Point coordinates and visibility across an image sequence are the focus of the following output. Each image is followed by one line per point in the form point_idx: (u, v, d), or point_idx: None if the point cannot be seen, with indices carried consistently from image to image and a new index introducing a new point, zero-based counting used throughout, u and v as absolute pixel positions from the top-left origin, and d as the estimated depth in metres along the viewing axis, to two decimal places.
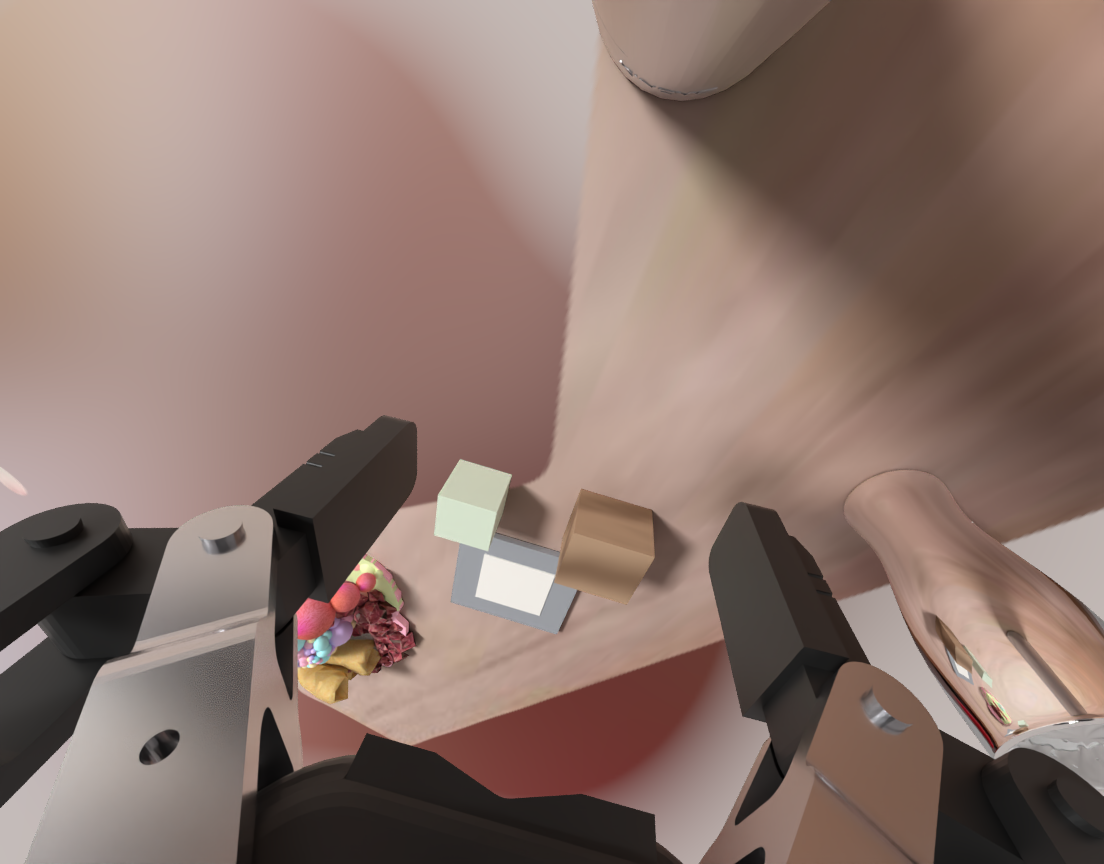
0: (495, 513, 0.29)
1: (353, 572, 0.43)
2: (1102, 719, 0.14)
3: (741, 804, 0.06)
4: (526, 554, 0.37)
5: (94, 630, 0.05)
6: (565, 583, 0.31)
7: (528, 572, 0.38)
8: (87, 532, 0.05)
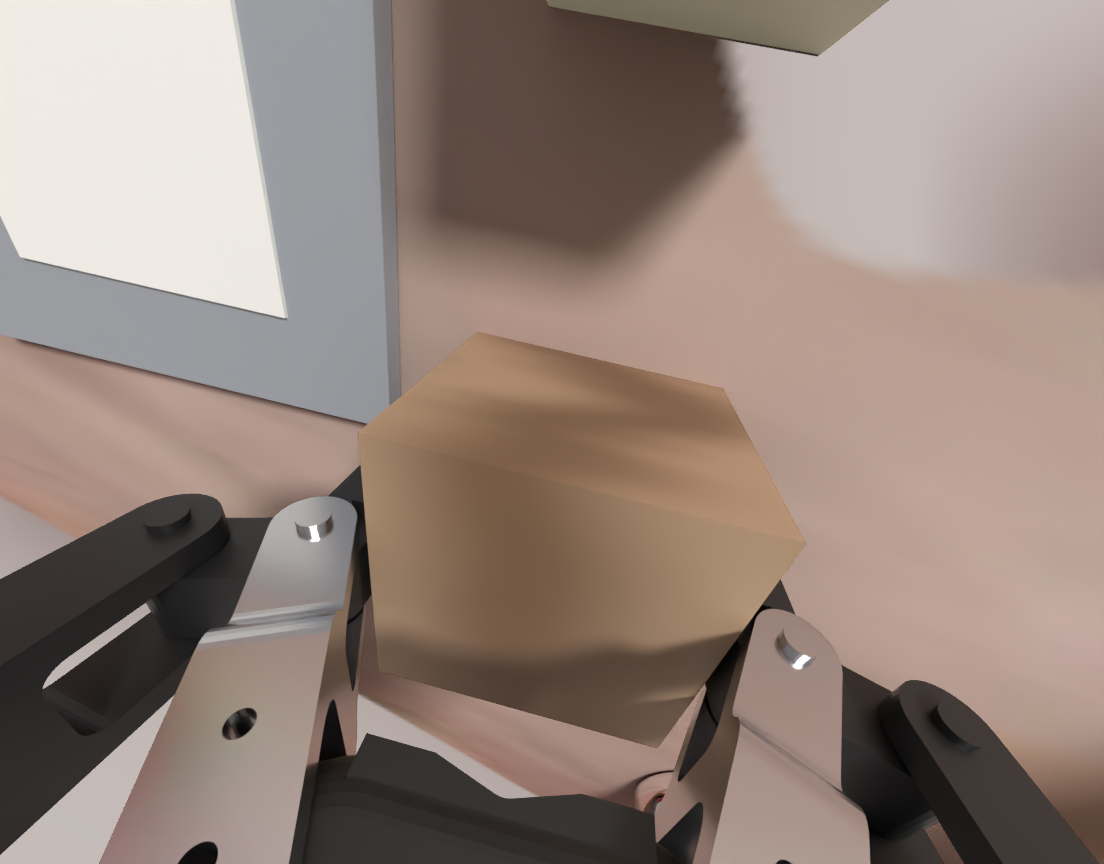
0: None
1: None
2: None
3: (683, 759, 0.06)
4: (336, 175, 0.08)
5: (187, 614, 0.06)
6: (385, 488, 0.06)
7: (230, 191, 0.08)
8: (195, 520, 0.06)
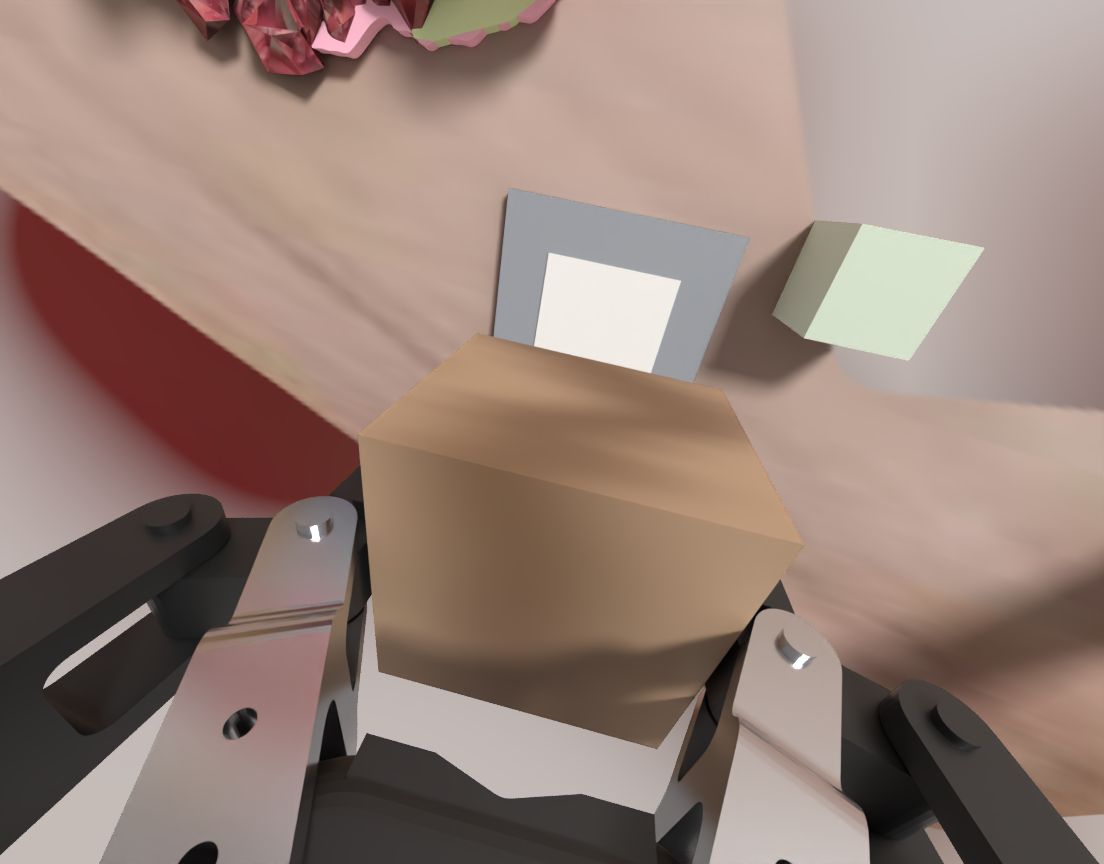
0: (906, 358, 0.17)
1: None
2: None
3: (682, 759, 0.06)
4: (685, 357, 0.22)
5: (187, 614, 0.06)
6: (386, 489, 0.06)
7: (641, 359, 0.23)
8: (195, 520, 0.06)
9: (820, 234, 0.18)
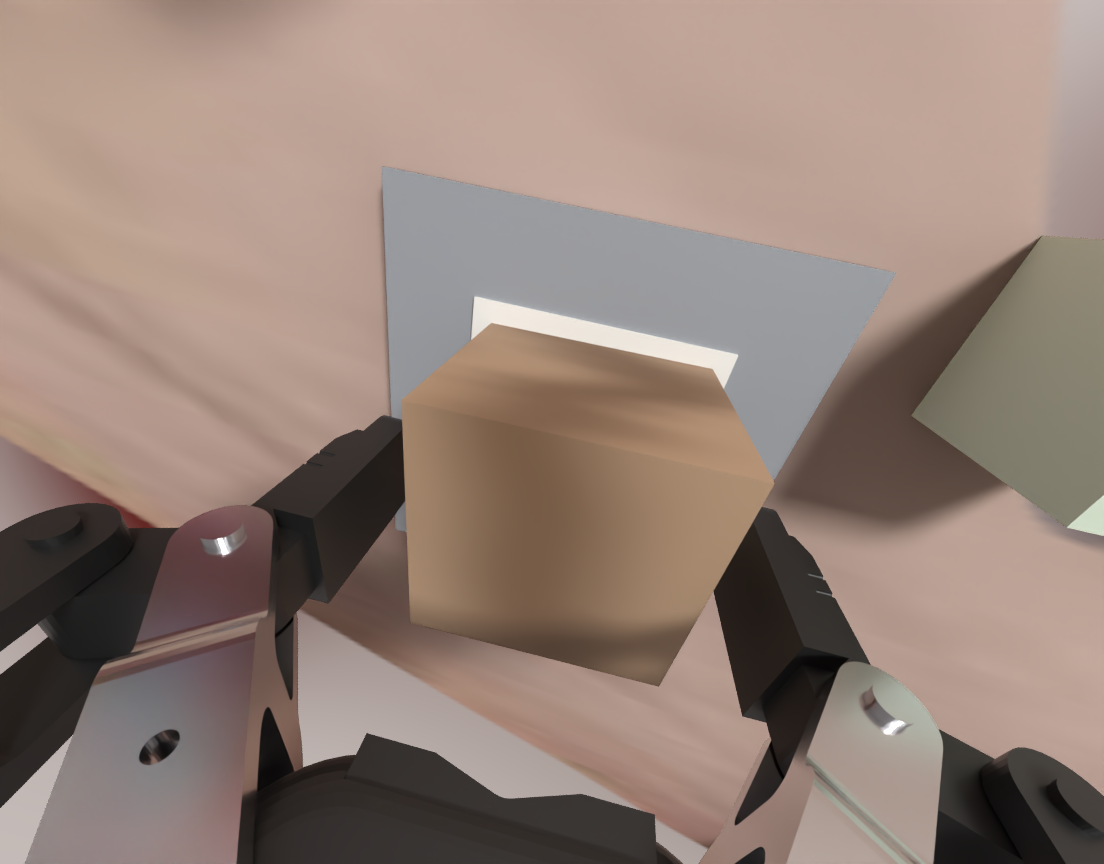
0: None
1: None
2: None
3: (741, 804, 0.06)
4: None
5: (94, 630, 0.05)
6: (423, 448, 0.07)
7: None
8: (87, 532, 0.05)
9: (1080, 269, 0.08)
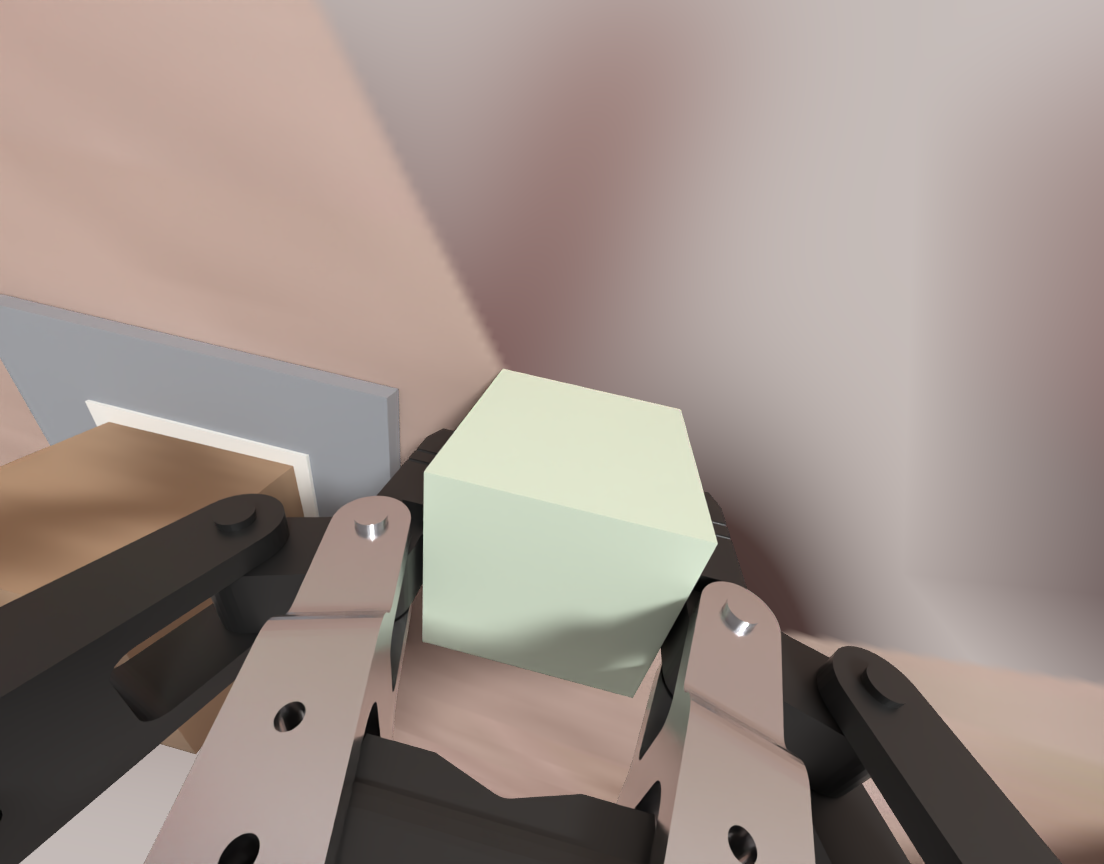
0: (626, 693, 0.08)
1: None
2: None
3: (643, 737, 0.06)
4: None
5: (244, 612, 0.06)
6: None
7: None
8: (260, 519, 0.06)
9: None
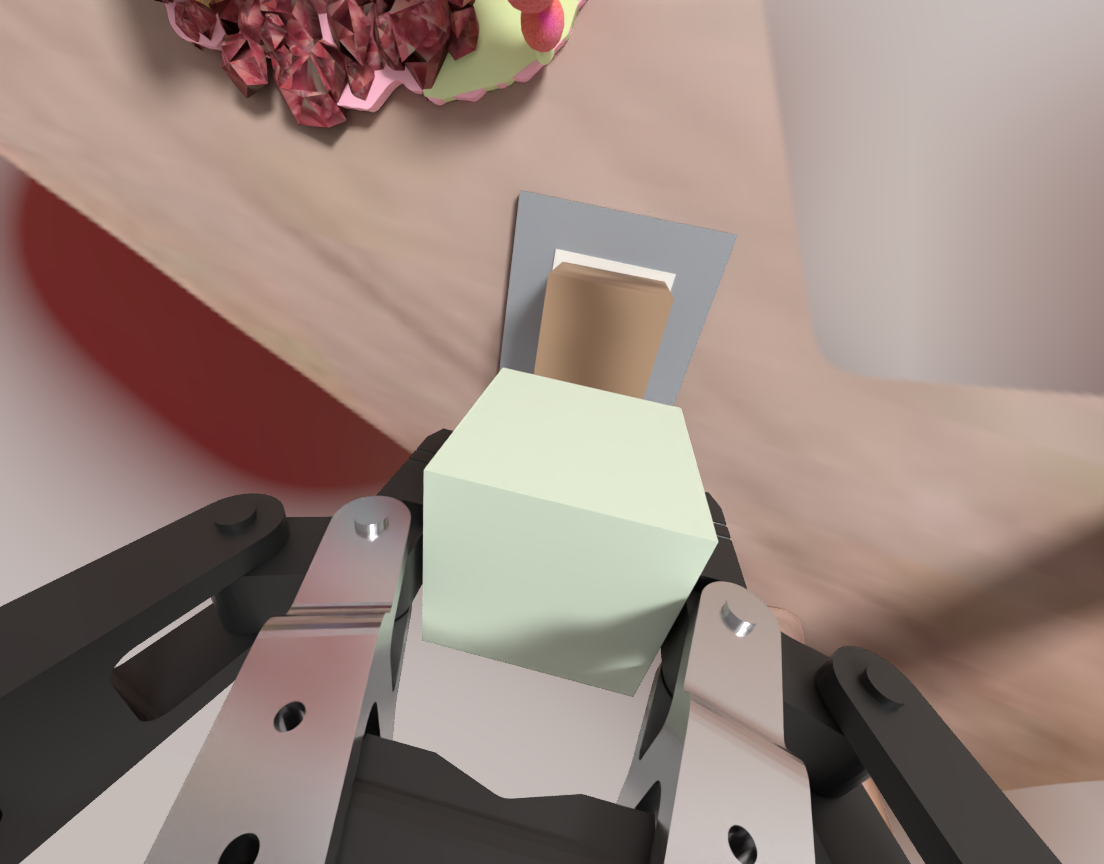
0: (626, 692, 0.08)
1: None
2: None
3: (642, 737, 0.06)
4: (680, 344, 0.24)
5: (244, 612, 0.06)
6: (553, 293, 0.19)
7: None
8: (260, 519, 0.06)
9: None
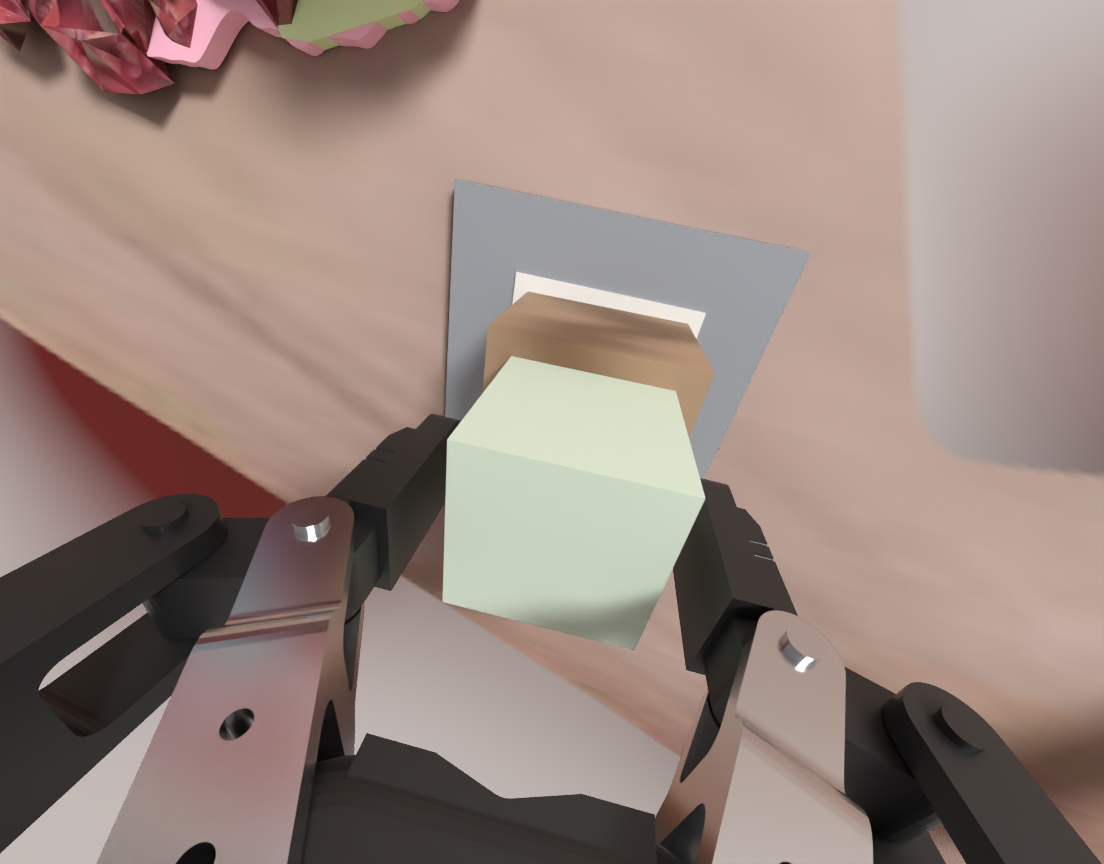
0: (628, 646, 0.09)
1: None
2: None
3: (685, 760, 0.06)
4: (708, 414, 0.16)
5: (183, 615, 0.06)
6: (498, 359, 0.11)
7: None
8: (191, 520, 0.06)
9: None
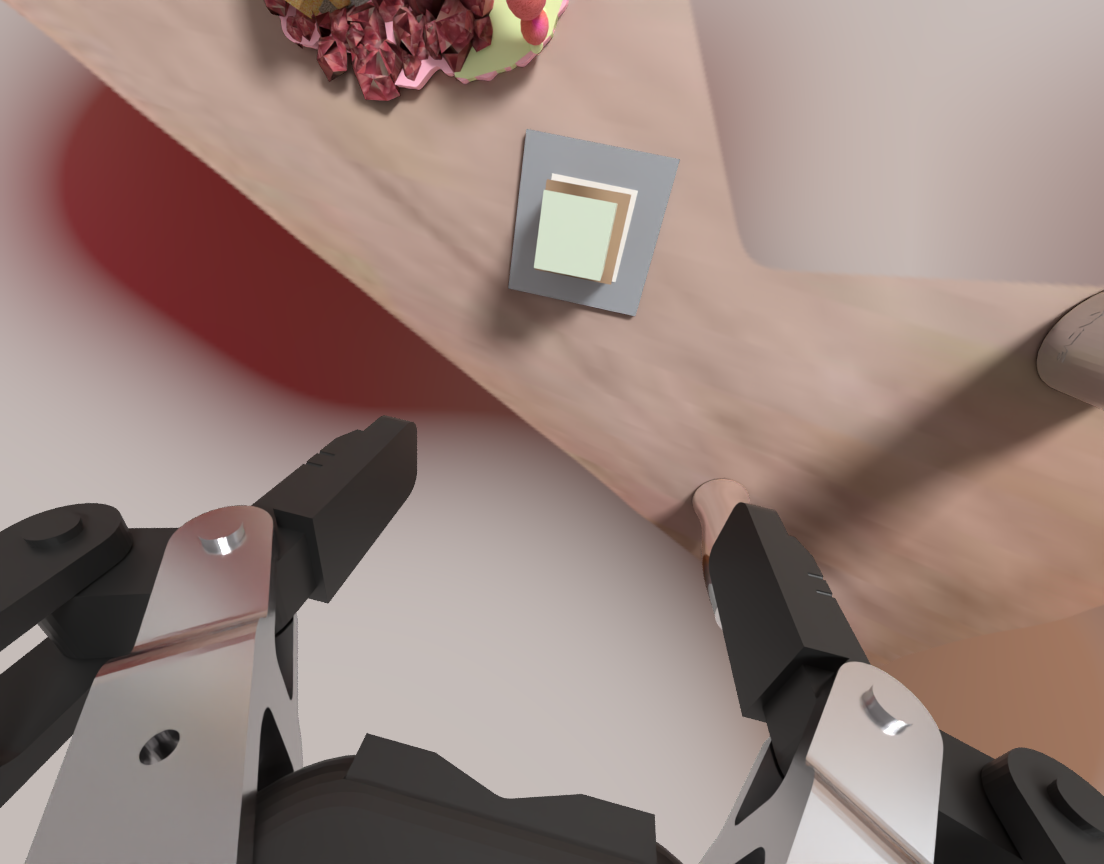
0: (598, 279, 0.26)
1: None
2: None
3: (741, 804, 0.06)
4: (643, 246, 0.33)
5: (94, 630, 0.05)
6: None
7: None
8: (87, 532, 0.05)
9: None
